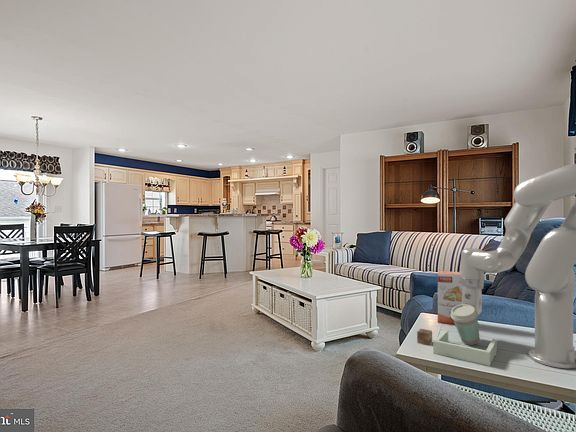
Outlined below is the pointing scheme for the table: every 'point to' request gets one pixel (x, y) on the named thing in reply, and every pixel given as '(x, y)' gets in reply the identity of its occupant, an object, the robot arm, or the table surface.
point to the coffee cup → (466, 323)
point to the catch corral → (464, 350)
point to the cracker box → (448, 294)
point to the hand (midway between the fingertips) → (469, 332)
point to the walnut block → (424, 336)
